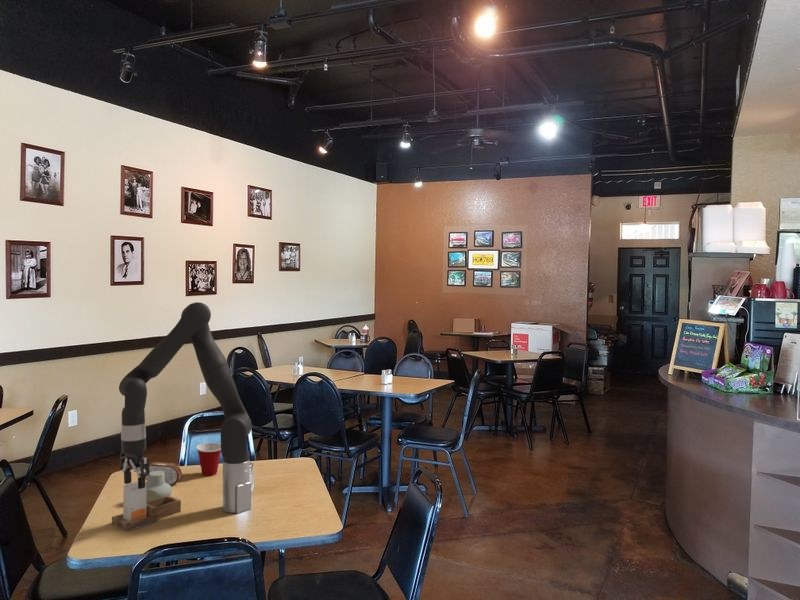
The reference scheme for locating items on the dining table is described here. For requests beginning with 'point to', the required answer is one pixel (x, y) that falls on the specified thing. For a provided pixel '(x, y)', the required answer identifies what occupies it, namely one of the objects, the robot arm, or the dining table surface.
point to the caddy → (152, 512)
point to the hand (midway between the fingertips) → (134, 485)
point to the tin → (167, 471)
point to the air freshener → (157, 486)
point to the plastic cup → (209, 458)
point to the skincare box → (134, 502)
